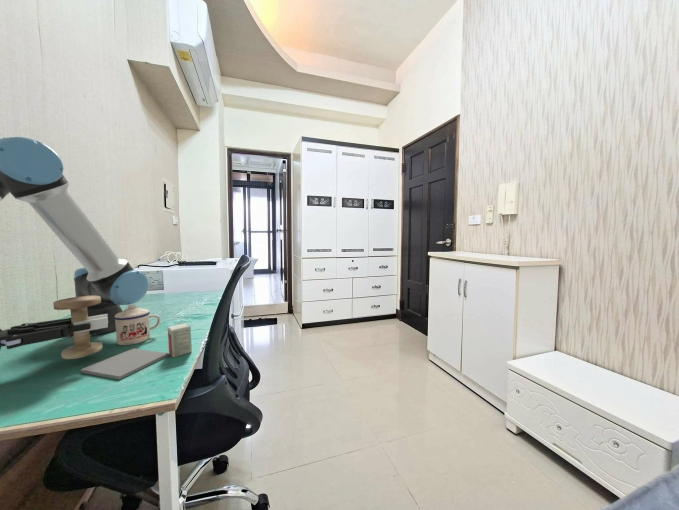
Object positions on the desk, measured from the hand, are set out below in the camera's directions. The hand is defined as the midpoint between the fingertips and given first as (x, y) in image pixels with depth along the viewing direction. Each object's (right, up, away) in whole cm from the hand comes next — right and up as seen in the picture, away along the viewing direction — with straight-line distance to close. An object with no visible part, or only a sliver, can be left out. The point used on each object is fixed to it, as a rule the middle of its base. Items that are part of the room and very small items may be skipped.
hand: (107, 320), depth 75 cm
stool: (-4, -8, -3) cm, 9 cm away
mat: (+9, -10, -4) cm, 14 cm away
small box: (+19, -10, +2) cm, 22 cm away
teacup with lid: (-1, -10, +13) cm, 16 cm away
